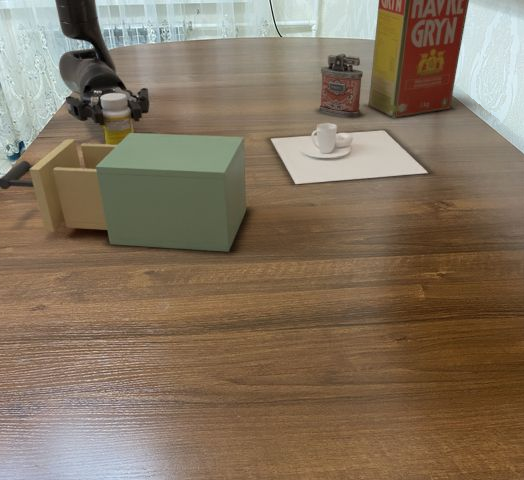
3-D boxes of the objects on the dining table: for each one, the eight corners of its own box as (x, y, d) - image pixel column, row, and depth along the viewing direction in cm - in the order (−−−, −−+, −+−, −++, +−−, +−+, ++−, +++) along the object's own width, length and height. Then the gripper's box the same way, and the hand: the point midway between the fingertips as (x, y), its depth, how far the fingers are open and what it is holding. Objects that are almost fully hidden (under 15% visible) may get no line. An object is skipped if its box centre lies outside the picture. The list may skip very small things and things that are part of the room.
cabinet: (109, 244, 73) (95, 166, 67) (140, 204, 82) (129, 132, 76) (228, 251, 71) (224, 172, 65) (246, 210, 80) (243, 137, 74)
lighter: (315, 111, 114) (318, 54, 108) (325, 107, 116) (327, 50, 110) (354, 118, 111) (358, 59, 104) (362, 114, 113) (367, 55, 107)
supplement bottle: (114, 144, 101) (105, 91, 96) (140, 145, 101) (133, 92, 96) (102, 154, 98) (92, 99, 93) (130, 156, 97) (121, 101, 92)
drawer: (0, 228, 75) (-19, 166, 70) (37, 194, 83) (23, 137, 78) (151, 237, 72) (142, 174, 68) (174, 201, 80) (168, 143, 76)
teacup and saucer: (347, 141, 101) (349, 116, 98) (361, 158, 94) (364, 131, 92) (295, 145, 100) (296, 120, 97) (306, 162, 93) (307, 136, 91)
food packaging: (393, 119, 110) (412, -45, 95) (366, 105, 117) (379, -50, 102) (453, 109, 114) (480, -50, 99) (423, 96, 121) (444, -54, 106)
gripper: (54, 71, 102) (66, 96, 89) (138, 62, 106) (161, 86, 93) (64, 117, 107) (76, 147, 94) (144, 107, 110) (167, 135, 98)
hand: (119, 116), depth 94 cm, fingers closed on supplement bottle, 4 cm apart
